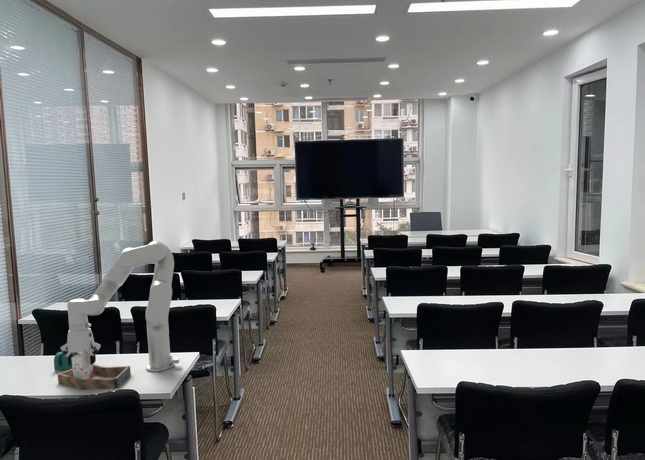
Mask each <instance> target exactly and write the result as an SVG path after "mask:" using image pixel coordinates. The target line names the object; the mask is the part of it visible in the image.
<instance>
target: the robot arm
mask: <svg viewBox="0 0 645 460" xmlns="http://www.w3.org/2000/svg"><path fill="white" fill-rule="evenodd" d="M174 259H175V258H174V255H173V252H172V251H171V249H170V248H169V247H168V246H167V245H166V244H165V243H164V242H161V241H160V240H154V241H153V240H152V241H151V242H149V243H148V244H146V245H141V246H138V247H126V248H124V249H123V250H122V251H121V252H120V253H119V255H117V258H116V259H115V261H114V262H113V263H112V265H111V266H110V268H109V269H108V270H107V272H106V274H105V275H104V277H103V279H102V281H101V282H100V283H99V285H98V287H97V288H96V289H95V291H94V293H92V295H91V296H90V298H89V299H84V298H74V299H70V300H69V301H68V302H67V306H66V307H67V315H68V326H69V327H68V328H69V329H68V332H67V340H66V343H65V344H63V345H61V346H60V350H61V352H63V353H64V354H65V355H66V357H67V359H68V364H69V366H70V365H72V359H71V358H72V357H73V355H72V353H75V354H78V353H80V352H81V350H83V351H84V352H88V353H89V354H90V355H91V356H90V364H91V365H92V364H95V363H96V361H97V359H96V357H97V356H96V355H97V353H98V352H99V350H100V348H101V344H100V343H98V342H95V340H94V339H95V338H94V334H93V332H92V329H91V328H90V327H92V324H91V323H89V319H88V316H98V315H101V314H102V313H103V312H104V310H105V308H106V306H107V304H108V303H109V302H110V300H111V299H112V297H113V295H114V294H115V293H116V291H118V289H119V288H120V287H122V286H123V284H124V283H125V282H126V280H127V279H128V277H129V275H130V274H131V273H132V271H133V270H134V268H139V267H143V266H148V265H150V264H154V269H153V271H154V272H153V278H152V282H151V285H150V289H149V295H148V296H149V297H148V302H147V306H146V309H145V320H146V333H147V334H146V335H147V346H148V347H147V348H148V361H149V363H148V364H147V365H146V366H145V367H146V370H147V371H148V372H152V373H154V372H155V373H157V372H163V371H167V370H170V369H171V368H173V367H174V366H175V364H179V363H180V358H179V357H173V354H171V347H170V345H171V344H170V336H169V335H170V331H169V330H170V329H169V312H170V309H171V308H170V307H171V302H172V297H173V288H172V283H173V276H174V269H175V260H174ZM94 348H95V349H94Z"/></svg>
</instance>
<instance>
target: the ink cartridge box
mask: <svg viewBox="0 0 645 460" xmlns="http://www.w3.org/2000/svg"><path fill="white" fill-rule="evenodd" d="M90 356H91V355H90V354H89V353H88V352H84V351H83V350H81V352H79V353H76V355H75V356H74V357H72V358H71V359H72V369H73V377H75V378H79V379H83V380H85V379H92V377H93V376H95V374H93V364H92V365H91V364H90Z"/></svg>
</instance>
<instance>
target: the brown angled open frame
mask: <svg viewBox="0 0 645 460" xmlns="http://www.w3.org/2000/svg"><path fill="white" fill-rule="evenodd" d="M131 373H132V372H131V365H124V366H123V365H122V366H103V365H99V364H95V363H94V364H93V374H94V375H98V376H102V377H110V378H90V379H85V380H83V379H79V378H75V377H73V368H72V369H70V370H68V371H61V372H59V373H57V382H58V384H61V385H64V386H67V387H72V388H75V389H79V390H81V391H84V390H105V389H118V388H119V387H120V386H121V385H122V384H123V383H124V382H125V381H127V379H128V378H129V377H130V376H131ZM111 377H113V378H111Z"/></svg>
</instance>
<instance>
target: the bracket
mask: <svg viewBox="0 0 645 460" xmlns="http://www.w3.org/2000/svg"><path fill="white" fill-rule="evenodd" d="M72 355H73V357H74V356H75V355H77V353H72ZM53 366H54V371H55V370H56V372H58V371H59V372H60V371H61V372H65V371H68V370H70V369H73V368H72V365H70V366H69V364H68V359H67V357H66V355H65V354H64V353H63V351H58V352H56V354H55V355H54V358H53ZM57 370H58V371H57Z"/></svg>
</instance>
